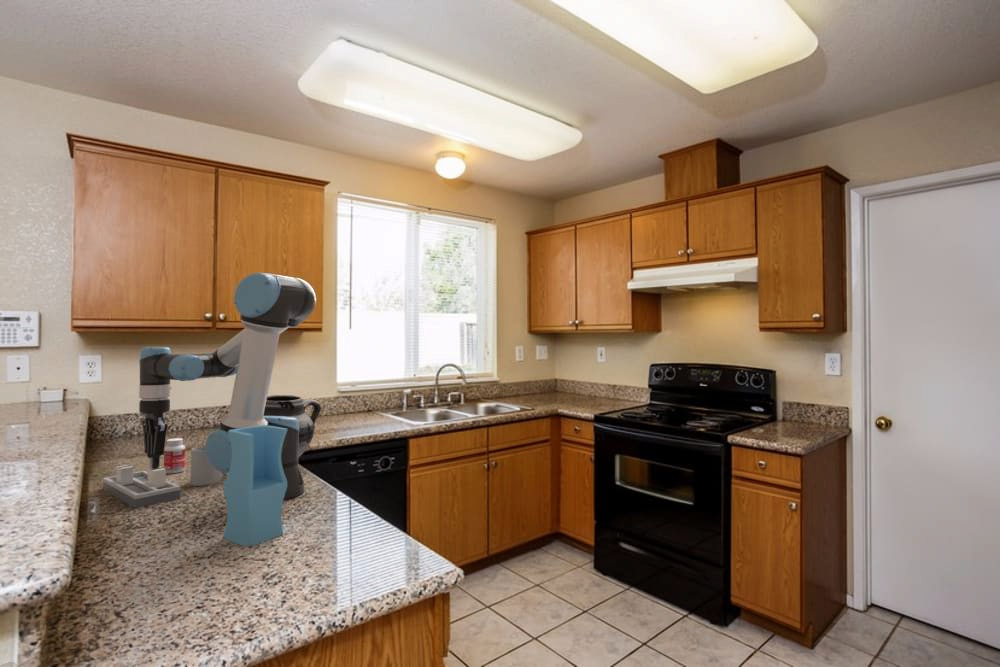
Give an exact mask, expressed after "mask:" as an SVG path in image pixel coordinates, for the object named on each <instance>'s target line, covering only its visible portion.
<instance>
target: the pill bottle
mask: <svg viewBox="0 0 1000 667" xmlns="http://www.w3.org/2000/svg"><path fill="white" fill-rule="evenodd" d="M183 441H184V439H183V438H181V437H180V438H178V437H175V438H169V439H167V440H166V446H165V447H164V454H163V468H164V469H166V474H168V475H169V474H171V475H172V474H179V473H183V472H184V471H185V470H186V446H185V445H184V442H183Z"/></svg>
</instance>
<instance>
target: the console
mask: <svg viewBox="0 0 1000 667" xmlns="http://www.w3.org/2000/svg"><path fill="white" fill-rule="evenodd" d="M102 490H104V491H105V492H107V493H109V494H110V495H112V496H114V497H115V498H117V499H118V500H120V501H122V502H124V503H126V504H128V505H129V506H131V507H133V508H134V509H138V508H143V507H146V506H151V505H152V506H153V505H157V504H160V503H165V502H169V501H173V500H177V499H181V486H180V485H178V484H176V483H174V482H172V481H169V480H167V479H166V486H164V487H159V488H155V487H153V486H151V485H149V479H148V470H147V471H146V470H141V471H140V470H139V471H136V472H134V471H133V484H129V485H123V486H122V485H121V484H119V483H117V482H116V475H113V476H112V475H111V476H107V477H103V478H102Z"/></svg>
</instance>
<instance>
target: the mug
mask: <svg viewBox="0 0 1000 667" xmlns="http://www.w3.org/2000/svg"><path fill="white" fill-rule="evenodd" d="M205 446H206V445H201V446H195V447H192V448H191V449H190V479H189V480H190V485H191V486H193V487H206V486H211V485H216V484H219V483H220V482H221V481H222V472H221V471H218V470H217V469H215V468H214V467H213V466H212V464H211V463H210V461H209V459H208V457H207V454H206V447H205Z"/></svg>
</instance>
